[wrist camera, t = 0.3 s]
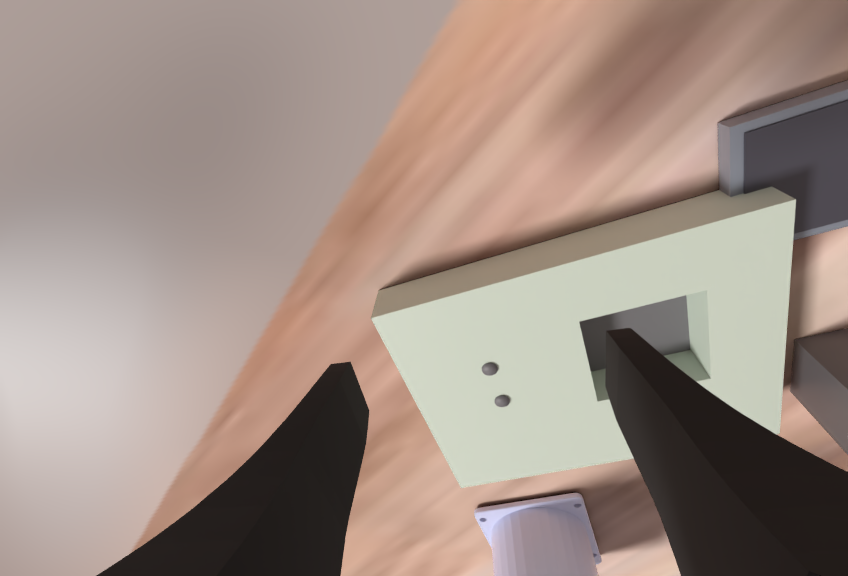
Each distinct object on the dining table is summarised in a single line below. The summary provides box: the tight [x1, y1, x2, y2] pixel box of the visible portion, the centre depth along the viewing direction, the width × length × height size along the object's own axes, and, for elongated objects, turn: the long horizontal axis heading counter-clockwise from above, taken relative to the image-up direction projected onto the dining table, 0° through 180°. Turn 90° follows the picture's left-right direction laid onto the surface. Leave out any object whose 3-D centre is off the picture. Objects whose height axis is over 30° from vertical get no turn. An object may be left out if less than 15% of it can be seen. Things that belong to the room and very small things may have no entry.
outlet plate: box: [371, 186, 796, 488], centre depth 23 cm, size 14×18×3 cm
